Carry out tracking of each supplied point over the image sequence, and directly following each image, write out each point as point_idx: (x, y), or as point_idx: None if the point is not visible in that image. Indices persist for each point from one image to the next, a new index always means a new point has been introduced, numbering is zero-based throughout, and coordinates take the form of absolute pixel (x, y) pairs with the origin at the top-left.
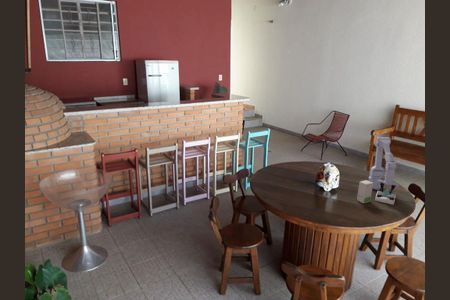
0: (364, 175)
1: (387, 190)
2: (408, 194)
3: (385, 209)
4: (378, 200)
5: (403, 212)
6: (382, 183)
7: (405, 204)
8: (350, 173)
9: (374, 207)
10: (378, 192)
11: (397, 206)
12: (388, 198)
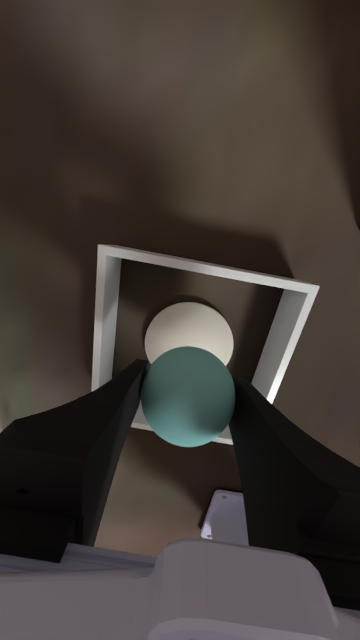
0: None
1: (181, 398)
2: None
3: (216, 33)
4: (264, 273)
5: (5, 44)
6: (354, 585)
7: (17, 300)
8: None
9: (357, 34)
10: None
11: (80, 215)
12: None
